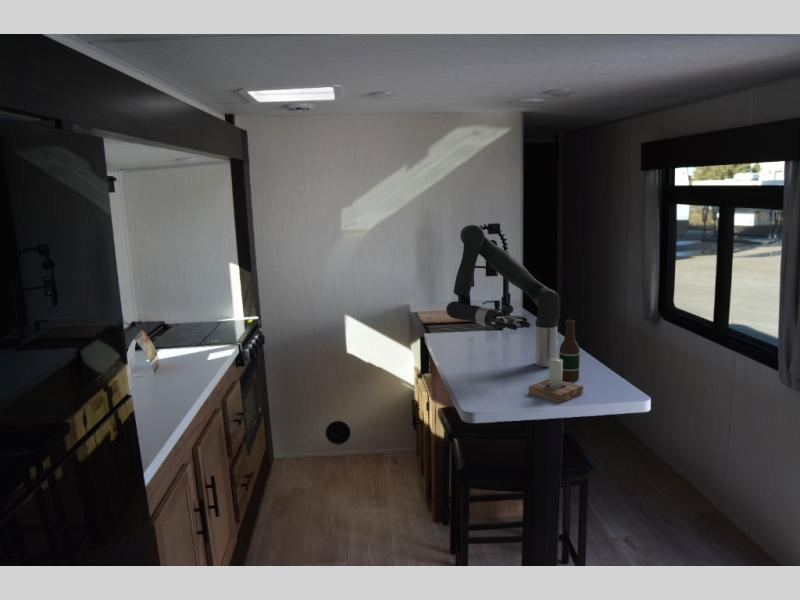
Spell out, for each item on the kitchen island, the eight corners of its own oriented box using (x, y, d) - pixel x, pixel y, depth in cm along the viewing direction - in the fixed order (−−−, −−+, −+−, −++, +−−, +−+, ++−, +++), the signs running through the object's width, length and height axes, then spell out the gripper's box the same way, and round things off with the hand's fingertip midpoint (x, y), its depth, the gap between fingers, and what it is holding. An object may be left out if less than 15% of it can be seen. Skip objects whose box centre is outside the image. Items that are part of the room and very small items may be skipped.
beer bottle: (580, 382, 239) (581, 322, 235) (559, 381, 241) (560, 322, 237) (578, 376, 247) (579, 318, 243) (558, 376, 248) (559, 318, 244)
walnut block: (551, 385, 236) (551, 378, 236) (582, 393, 226) (583, 386, 225) (528, 394, 227) (528, 386, 227) (560, 402, 217) (560, 394, 216)
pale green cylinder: (553, 391, 230) (554, 357, 228) (564, 394, 226) (565, 359, 224) (545, 393, 227) (546, 359, 224) (556, 396, 223) (557, 362, 221)
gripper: (479, 310, 241) (513, 318, 230) (500, 307, 251) (534, 315, 240) (477, 328, 243) (511, 337, 232) (498, 324, 253) (532, 333, 242)
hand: (523, 326), depth 236 cm, fingers open, 8 cm apart
